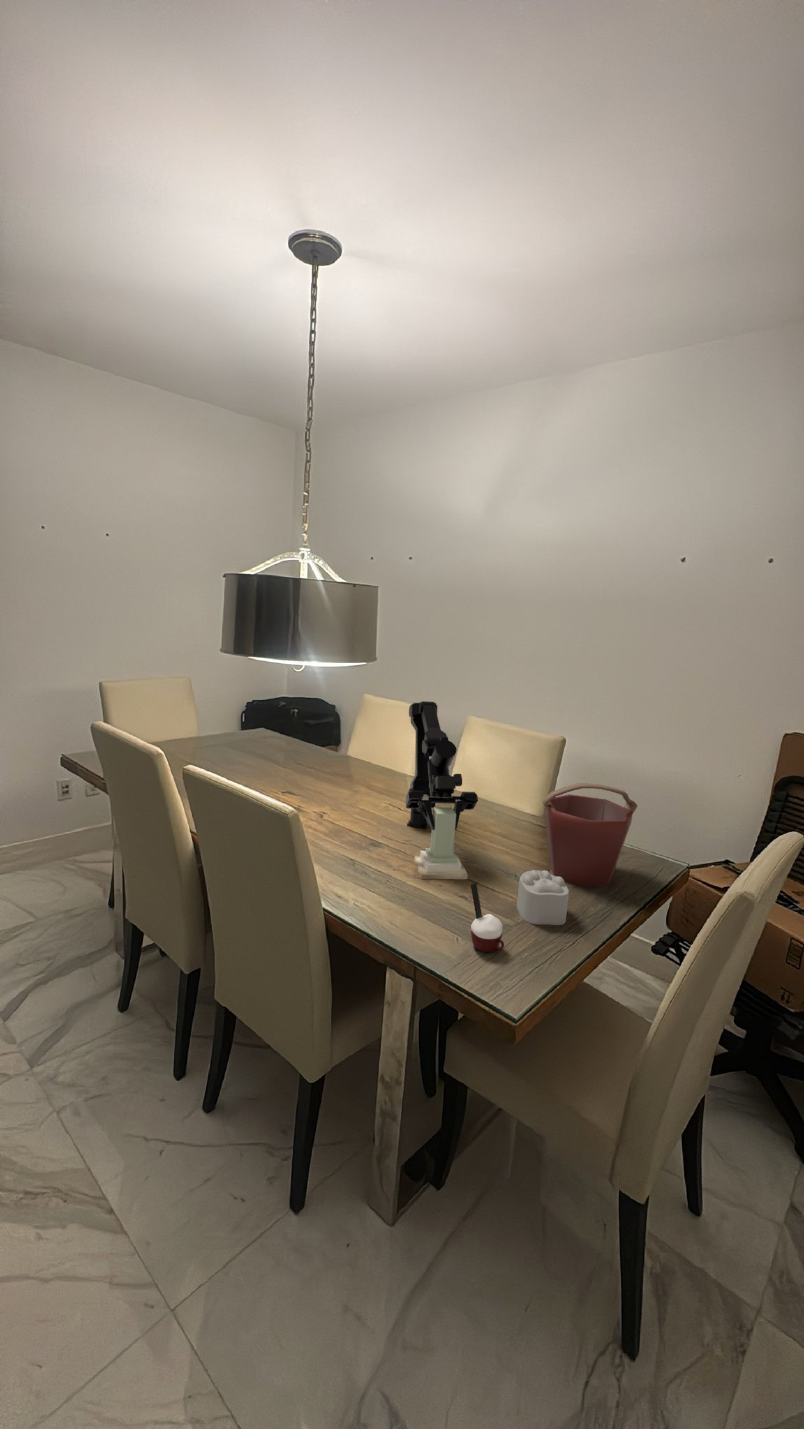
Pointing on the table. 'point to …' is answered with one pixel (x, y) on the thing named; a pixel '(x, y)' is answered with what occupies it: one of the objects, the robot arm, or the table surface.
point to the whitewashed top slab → (439, 865)
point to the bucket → (585, 834)
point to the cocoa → (485, 927)
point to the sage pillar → (442, 836)
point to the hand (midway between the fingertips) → (444, 829)
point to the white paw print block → (542, 898)
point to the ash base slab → (439, 875)
